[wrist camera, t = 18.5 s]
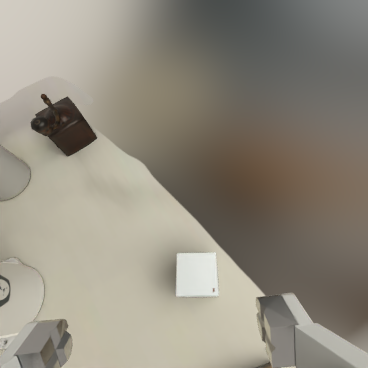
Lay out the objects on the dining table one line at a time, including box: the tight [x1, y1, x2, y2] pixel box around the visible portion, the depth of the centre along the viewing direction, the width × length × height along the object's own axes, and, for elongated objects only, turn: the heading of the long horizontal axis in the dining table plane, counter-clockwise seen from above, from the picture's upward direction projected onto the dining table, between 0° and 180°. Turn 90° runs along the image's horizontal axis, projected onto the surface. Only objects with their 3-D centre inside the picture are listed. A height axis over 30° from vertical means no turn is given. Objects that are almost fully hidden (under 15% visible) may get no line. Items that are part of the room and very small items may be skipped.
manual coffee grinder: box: [31, 94, 97, 156], centre depth 63 cm, size 16×11×18 cm
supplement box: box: [175, 252, 219, 298], centre depth 46 cm, size 7×7×13 cm
